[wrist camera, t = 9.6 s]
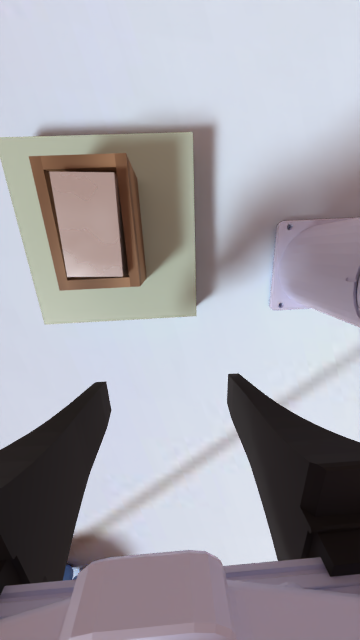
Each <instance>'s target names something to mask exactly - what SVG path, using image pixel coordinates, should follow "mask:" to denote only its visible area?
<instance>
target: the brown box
mask: <svg viewBox="0 0 360 640" xmlns="http://www.w3.org/2000/svg"><path fill="white" fill-rule="evenodd" d="M29 160H30V165H31V169H32V173H33V178H34V182H35V186H36V191H37V195H38V199H39V204H40V208H41V212H42V217H43V221H44V225H45V230H46V234H47V238H48V243H49V247H50V251H51V256H52V260H53V264H54V269H55V273H56V277H57V282H58V286H59V290H60V291H64V290H83V289H102V288H121V287H140V286H141V285H142V284H143V282H144V281H145V280H146V279H147V276H146V265H145V255H144V244H143V234H142V223H141V212H140V202H139V191H138V181H137V177H136V175H135V172H134V170H133V168H132V166H131V163H130V161H129V159H128V157H127V154H126V153H110V154H79V155H49V156H29ZM49 172H114V173H115V175H116V176H117V179H118V188H119V196H120V204H121V212H122V221H123V229H124V237H125V245H126V256H127V268H128V274H127V275H125V276H123V277H67V273H66V267H65V261H64V255H63V249H62V244H61V238H60V232H59V226H58V220H57V214H56V209H55V203H54V197H53V191H52V185H51V179H50V173H49Z"/></svg>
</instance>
